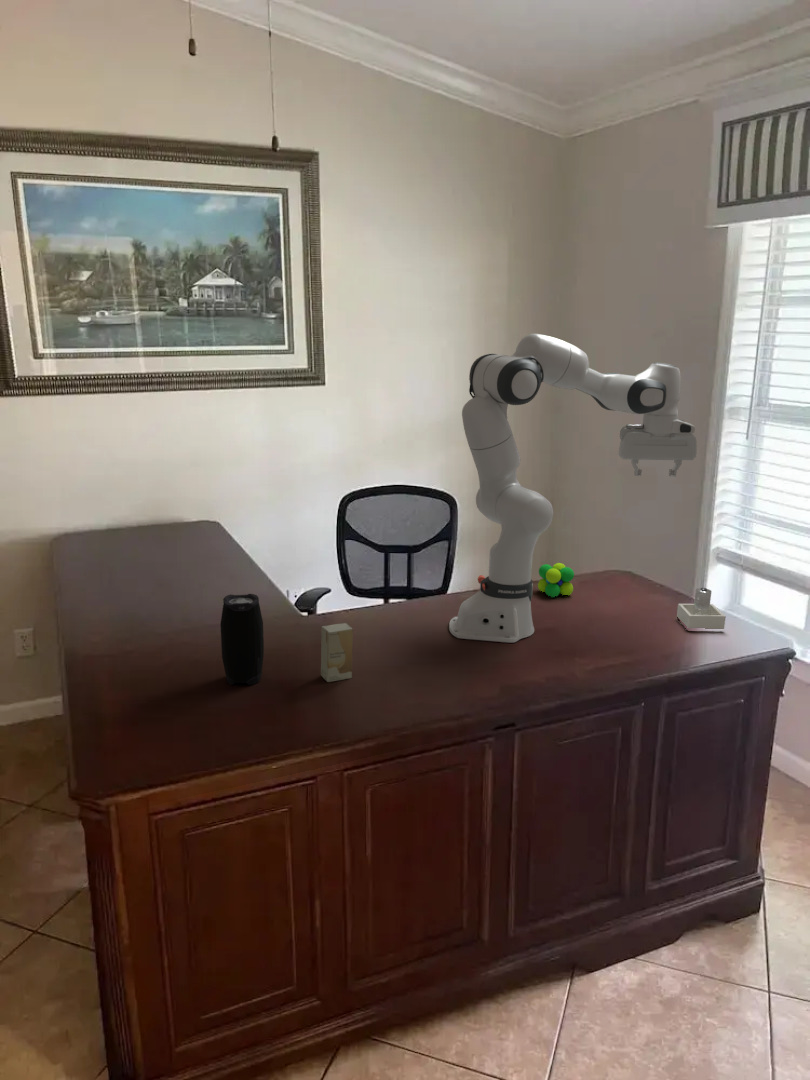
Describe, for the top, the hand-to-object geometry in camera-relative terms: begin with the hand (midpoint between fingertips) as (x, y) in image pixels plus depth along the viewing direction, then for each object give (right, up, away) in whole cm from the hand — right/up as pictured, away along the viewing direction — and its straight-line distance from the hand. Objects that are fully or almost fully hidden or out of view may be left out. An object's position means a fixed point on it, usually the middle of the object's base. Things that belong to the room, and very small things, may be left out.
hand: (655, 476), depth 233 cm
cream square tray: (+12, -41, +1) cm, 42 cm away
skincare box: (-83, -49, -35) cm, 103 cm away
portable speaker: (-104, -49, -37) cm, 121 cm away
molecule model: (-23, -34, +25) cm, 48 cm away
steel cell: (+12, -40, +1) cm, 42 cm away
